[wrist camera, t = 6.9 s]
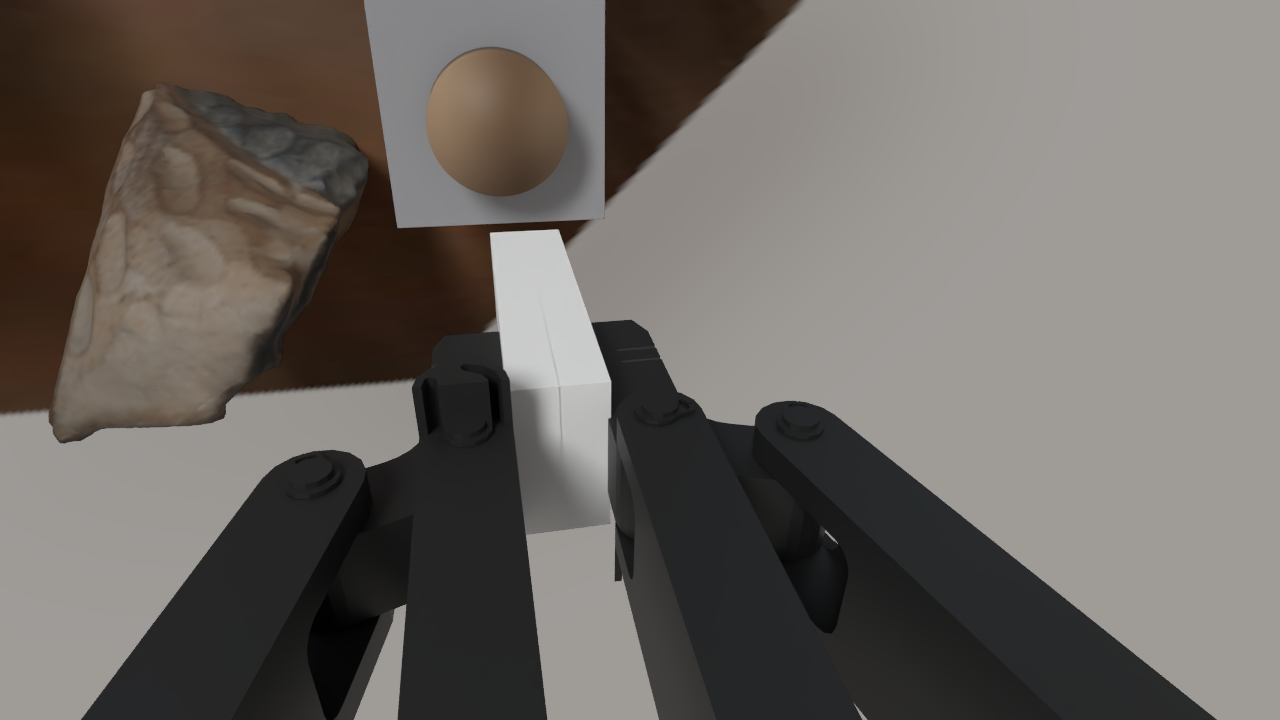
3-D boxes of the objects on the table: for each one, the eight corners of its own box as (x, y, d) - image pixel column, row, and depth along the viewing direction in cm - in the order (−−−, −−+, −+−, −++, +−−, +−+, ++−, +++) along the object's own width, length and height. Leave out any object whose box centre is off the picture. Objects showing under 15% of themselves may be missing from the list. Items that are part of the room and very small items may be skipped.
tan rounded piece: (433, 133, 45) (422, 212, 32) (419, 6, 42) (399, 36, 28) (547, 131, 47) (582, 206, 33) (543, 8, 43) (580, 37, 30)
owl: (381, 133, 46) (335, 243, 29) (352, 307, 51) (299, 487, 34) (153, 72, 42) (-57, 158, 25) (147, 269, 47) (-28, 451, 30)
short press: (414, 151, 47) (397, 227, 34) (392, -22, 42) (362, -8, 29) (566, 147, 49) (604, 218, 36) (562, -19, 44) (605, -4, 31)
